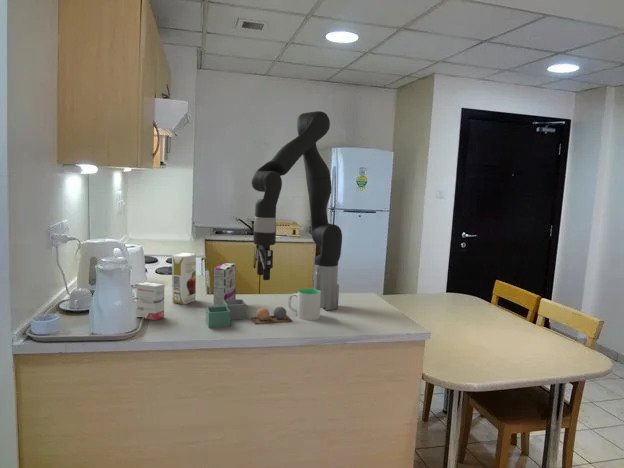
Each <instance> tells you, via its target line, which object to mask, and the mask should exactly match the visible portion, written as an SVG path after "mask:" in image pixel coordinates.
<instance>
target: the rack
mask: <svg viewBox="0 0 624 468" xmlns="http://www.w3.org/2000/svg"><path fill="white" fill-rule="evenodd" d="M250 320H251V321H252V322H253V324H254V325H255V326H257V325H265V324H266V325H268V324H278V323H279V324H282V323H292V322H293V319H292V318H290V316H288V315H287V314H286V316H285V318H284V319H281V320H278V319H276V318H275V317H274V314H273V315H269V318H268V319H267V320H265V321H261V320H259V319H258V318H257V316H250Z"/></svg>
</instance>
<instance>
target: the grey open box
mask: <svg viewBox="0 0 624 468" xmlns="http://www.w3.org/2000/svg"><path fill="white" fill-rule="evenodd" d="M223 306H227V307H228V309H229V310H230V320H239V319H241V320H243V319H247V303H246V302H245V300H244V299H243V298H240V299H238V298H237V299H236V300H223Z"/></svg>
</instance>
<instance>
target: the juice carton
mask: <svg viewBox="0 0 624 468" xmlns="http://www.w3.org/2000/svg"><path fill="white" fill-rule="evenodd" d="M196 280H197V258H196V253H192V252H191V253H190V252H181V253H179V254H178V253H177V254H172V255H171V302H172V303H174V304H179V305H187V304H190V303H192V302H193V303H194V302H195V301H196V298H197V297H196V294H197V290H196V289H197V286H196V284H197V283H196V282H197V281H196Z"/></svg>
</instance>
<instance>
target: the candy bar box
mask: <svg viewBox="0 0 624 468" xmlns="http://www.w3.org/2000/svg"><path fill="white" fill-rule="evenodd" d="M236 269H237V266H236V263H229V262H224V263H223V264H220V265H217V266H216V267H213V307H216V306H223V300H236V298H237V297H236V296H237V295H236V294H237V293H236V292H237V290H236V288H237V287H236V279H237V277H236V274H237V272H236V271H237V270H236Z"/></svg>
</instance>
